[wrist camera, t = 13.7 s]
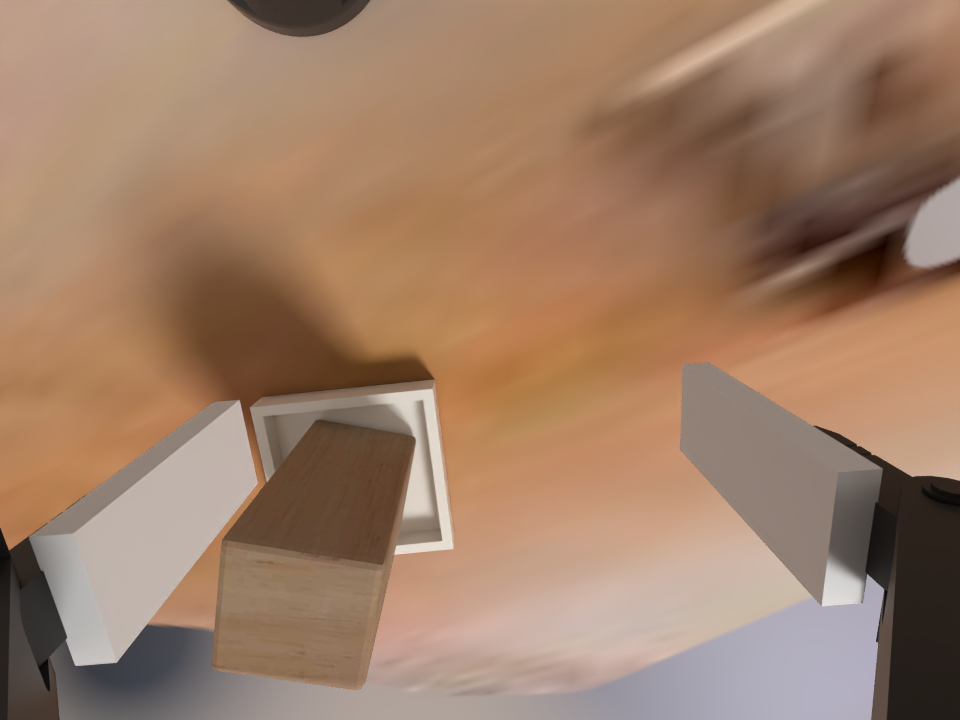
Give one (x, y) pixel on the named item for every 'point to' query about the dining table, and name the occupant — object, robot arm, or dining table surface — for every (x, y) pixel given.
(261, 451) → the dish
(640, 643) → the dining table surface
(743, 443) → the robot arm
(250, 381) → the dining table surface
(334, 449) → the wooden block
